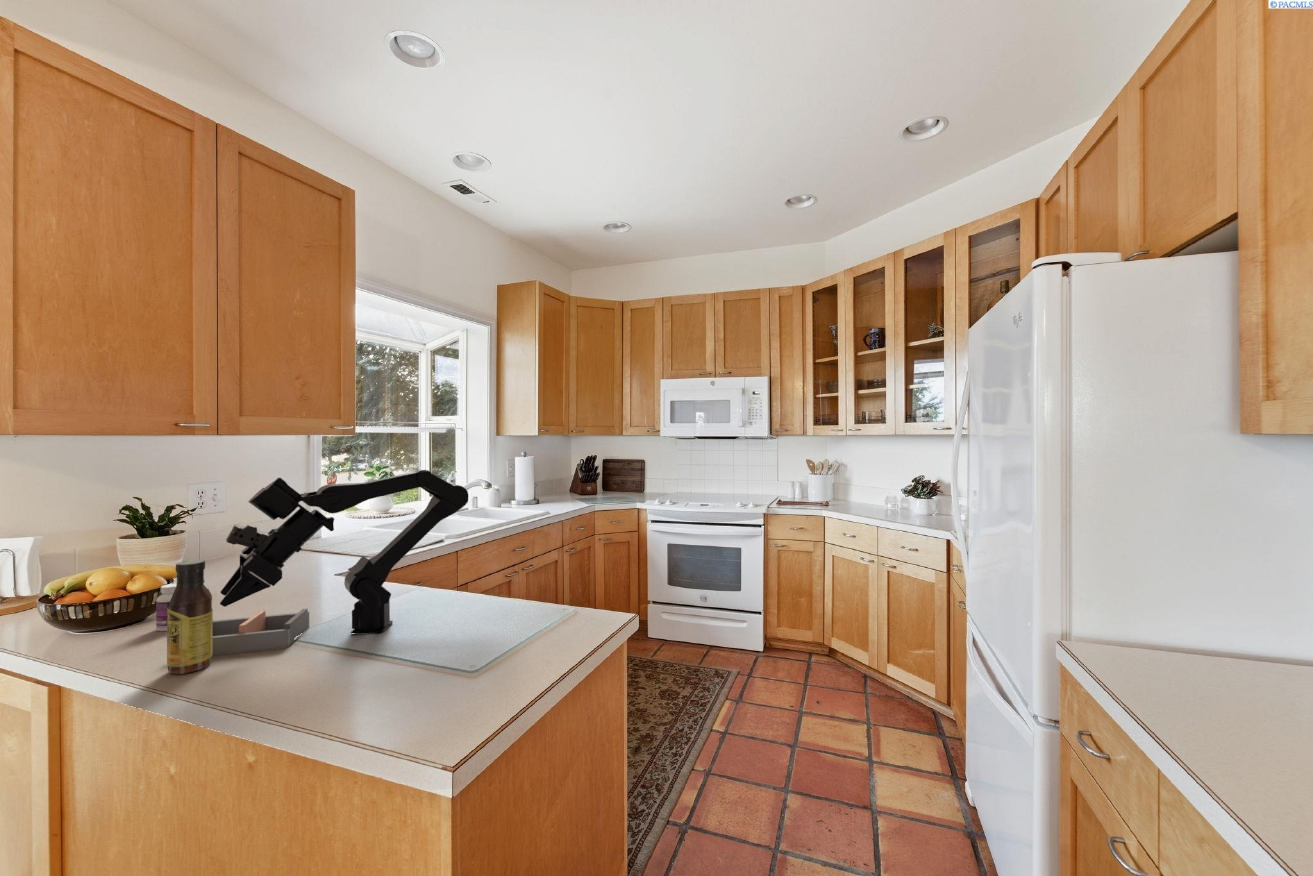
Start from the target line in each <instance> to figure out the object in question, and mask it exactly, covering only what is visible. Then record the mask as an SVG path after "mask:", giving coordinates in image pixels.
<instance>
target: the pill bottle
mask: <svg viewBox="0 0 1313 876" xmlns="http://www.w3.org/2000/svg"><path fill="white" fill-rule="evenodd" d="M176 584H177V582H175V583H170V584H164V585H161V586H160V593H161V595H159V596H158V597H157V598H156V602H155V605H156V608H155V610H156V612H155V614H156V615H155V622H156V623H155V625H156V630H157V631H158V632H167V607H168V605H169V603H170V600H171V598H172V596H173V593H174V591H175V588H176Z"/></svg>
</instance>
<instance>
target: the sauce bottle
mask: <svg viewBox="0 0 1313 876" xmlns="http://www.w3.org/2000/svg"><path fill="white" fill-rule="evenodd" d="M205 569H206V560H205V559H187V560H183V561H179V562H177V563H175V572H176V583H177V584H176V588H175V591H174V593H173V596H172V598H171V600H170V603H169V605H168V607H167V631H166V664H167V671H168V673H170V674H174V675H183V674H188V673H189V674H190V673H194V672H197V671H200V670H203V669H205V668H208V667H209V665H210V664H211V662H212V659H213V658H212V657H213V656H212V627H213V621H214V619H213V602H212V601H213V596H212V593H211V591H210V589H209V588H207V587H206V586H205V584H204V583H205V579H204V578H205V571H204V570H205Z"/></svg>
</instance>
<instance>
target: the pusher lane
mask: <svg viewBox="0 0 1313 876" xmlns="http://www.w3.org/2000/svg"><path fill="white" fill-rule="evenodd" d="M251 617H252V616H249V617H237V618H227V619H215V620H214V619H213V627H212V656H211V657H214V656H223V655H231V654H241V653H249V652H251V651H252V652H257V651H258V652H259V651H267V650H268V651H270V650H278V649H287V648H286V647H288V648H289V647H290V646H292V645H293V644H294V643H293V642H294V638H295V637H296V636H298V635H300V634H301V633H303V632H304V631H305V632H306V631H307V630H308V629H309V628H310V611H309V609H308V608H302V609H301V610H300V611H298V612H291V613H281V614H270V615H269V614H268V615H266V630H265V631H260V632H250V633H240V634H239V625H241V624H242V623H244V622H245V621H246V620H248V619H249V618H251ZM305 632H304V633H305ZM304 633H303V634H304Z"/></svg>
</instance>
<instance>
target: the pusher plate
mask: <svg viewBox="0 0 1313 876" xmlns="http://www.w3.org/2000/svg"><path fill="white" fill-rule="evenodd" d="M266 616H267V615H266V610H259V611H258V612H257V613H255V614H253V615H252V616H250V617H251V618H249V619H248V620H246V621H245V622H244V623H242V624H241V625H239V634H240V633H250V632H260V631H265V630H266Z"/></svg>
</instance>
